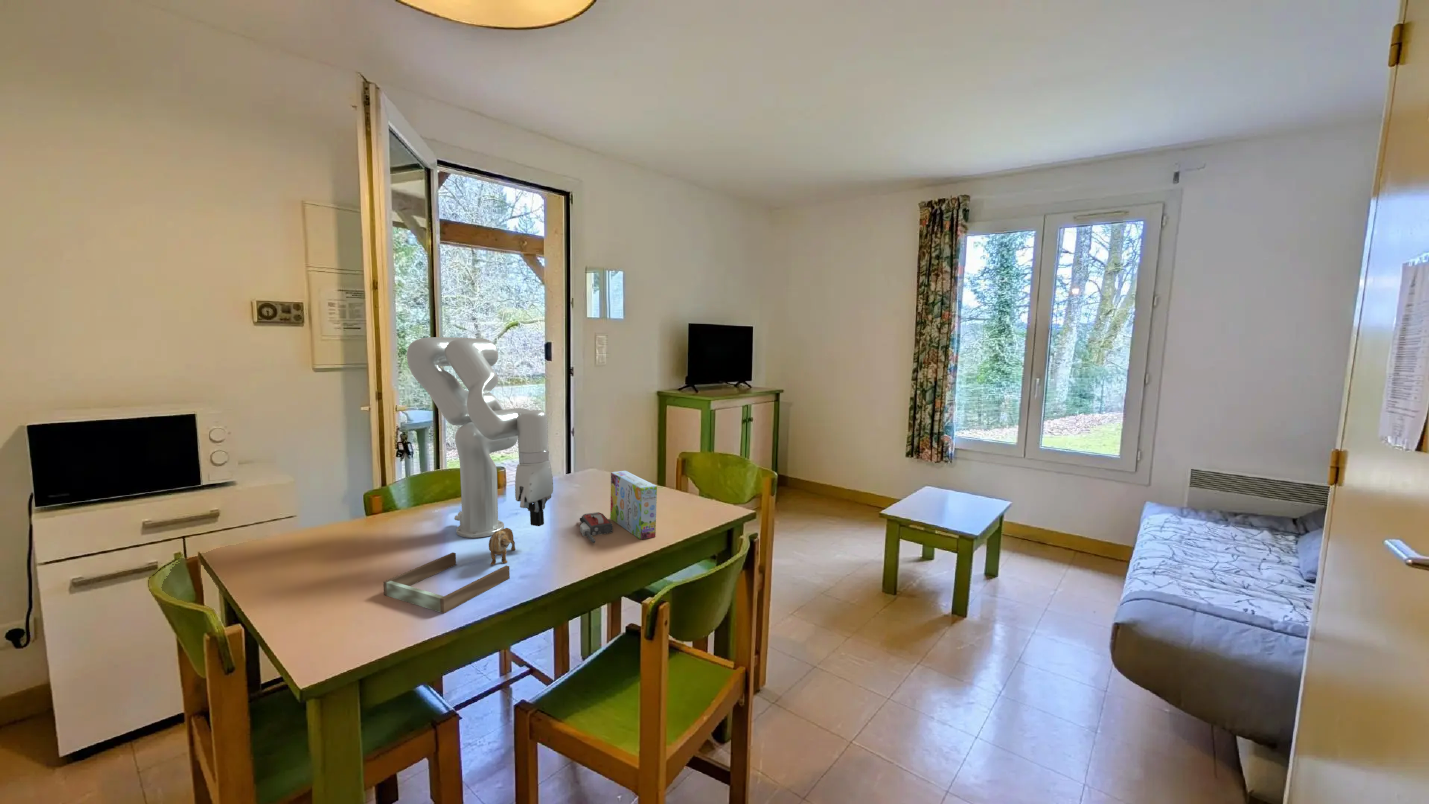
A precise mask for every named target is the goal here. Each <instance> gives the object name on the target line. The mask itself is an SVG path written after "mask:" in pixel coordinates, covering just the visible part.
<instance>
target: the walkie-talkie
mask: <svg viewBox="0 0 1429 804" xmlns="http://www.w3.org/2000/svg"><path fill="white" fill-rule="evenodd" d="M579 522H580V523H581V524H580V525H579V532H580V533H581V535H582V537H587V539H589V540H588V541H590V542H591V543H593V544H595V543H596V540H595V538H594V537H593V536H598V535H605V534H611V533H613V527H614V526H613V522H611V521H610V520H609V519H608V517H606V515H604V513H601V512H589V513H584V514H582V516H581V517H580V518H579Z"/></svg>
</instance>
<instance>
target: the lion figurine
mask: <svg viewBox="0 0 1429 804" xmlns="http://www.w3.org/2000/svg"><path fill="white" fill-rule="evenodd" d="M488 541H489V542H488V549H489V552H490V556H491V561H490V565H491V566H495V565H496V564H497V559H496V555H497V556H498V555H499V556H500V555H501V563H502V564H507V563H508V560H507V548H509V545H511V548H510V551H516V542H515V540H514V533H513V530H512V529H511V528H508V527H504V529H502V530H500V531H497V532H495V533H494V534H492V535H491V537H490V538H489V540H488Z"/></svg>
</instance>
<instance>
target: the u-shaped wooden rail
mask: <svg viewBox="0 0 1429 804" xmlns="http://www.w3.org/2000/svg"><path fill="white" fill-rule="evenodd" d="M455 566H457V553H456V552H451V553H448V554H446V555H443V556H441V557H438V558H436V559H433V560H431V561H430V562H427V563H424V564H422V565H419V566H417V567H415V568H413V569H410V570H408V571H406V572H402V573H400V574H399V575H396V576H393V577H392V578H389V579H386V580H384V581H383V596H386V597H390V598H393V599H395V600H400V601H402V602H404V603H410V604H413V605H416V606H419V607H422V608H424V609H425V608H426V609H429V610H432V611H435V612H437V613H442V614H446V613H448V612H450V611H451V610H453V609H455V608H457V607H459V606H460V605H463V604H464V603H466V602H468V601H470V600H472V599H474V598H476V597H477V596H480V595H481V594H483V593H485V592H488V591H489V590H491V589H493V588H494V587H496V586H498V585H501V583H505V582H506V581H508V580H510V572H511V571H510V565H504V566H502V567H500V568H497V569H496V570H493V571H491V572H490V573H488V574H486V575H484V576H482V577H480V578H478V579H476V580H474V581H472V582H469V583H468V584H466V585H464V586H462V587H460V588H458V589H456V590H454V591H452V592H450V593H448V594H446V595H442V594H437V593H434V592H431V591H428V590H424V589H421V588H417V587H413V586H412V585H415V584H417V583H419V582H421V581H423V580H426V579H428V578H430V577H433V576H434V575H437V574H439V573H441V572H444V571H446V570H448V569H450V568H453V567H455Z"/></svg>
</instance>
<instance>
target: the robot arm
mask: <svg viewBox="0 0 1429 804" xmlns="http://www.w3.org/2000/svg"><path fill="white" fill-rule="evenodd" d="M406 351H407V352H406V361H407V364H408V368H409V370H410V372H411V374H412V376H413V377H414V379H415V380H416V381H417V382H418V383H419V385H420V386H421V387H422V388H423V389H424V390H425V392H427V394H428V395H429V396H430V398H431V399H432V401H433V402H434V404H435V406H436V408H437V409H438V410H439V412H440V413H441V414H442V416H443V418H444V419H445V420H446V422H447V423H448V424H450V425H451V426H456V427H458V426H460V427H459V428H458V429H457V430H456V432H455V436H454V441H455V447H456V451H457V455H458V460H459V472H460V495H461V497H460V498H461V511H459V512H458V513H457V515H454V518H453V519H454V520H455V521H459V525H458V526H457V527H456V535H458V536H460V537H463V538H468V539H469V538H470V539H472V538H474V539H475V538H477V539H478V538H484V537H485V538H486V537H490V536H492V534H494V533H495V532H497V531H500V530H502V529H505V523H504V522H503V521H501V520H499V505H498V504H499V503H498V502H499V498H498V497H499V496H498V468H497V466H496V464H495V462H494V460H493V458H492V457H491V455H490V454H492V453H495V452H500V451H506V450H508V449H511V448H513V447H514V446H516V443H517V447H518V464H517V466H516V470H515V471H516V472H515V480H514V481H515V482H514V498H515V501H516V502H520V504H519V508H521V509H527V511H528V512H529V516H530V518H529V519H530V521H529V523H530V525H531V526H535V527H541V526H543V525H544V524H545V518H544V517H545V516H544V510H545V509H546V504H547V501H549V500H550V499H551V498H552V494H554V477H553V476H554V475H553V470H552V469H553V468H552V465H551V461H550V459H549V458H550V450H549V435H548V433H549V431H548V430H549V429H548V416H547V413H546V412H545V411H543V410H536V409H532V410H531V409H527V408H523V407H514V408H508V409H507V408H506V409H505V407H504V406H503V405H502V403H501V402H500V401H499V399H498V397H497V396H496V395H494V394H493V393H491V391H492V390H494V389H495V388H496V386H497V384H498V382H499V377H498V376H499V375H498V374H497V373H496V371H495V370H494V369H493V366H494V365H496V363H498V359H499V352H498V348H497V346H496V344H494V342H492V341H491V340H489V339H487V338H482V337H481V338H475V337H474V338H472V337H461V336H460V337H451V336H450V337H449V336H448V337H447V336H445V337H441V336H439V337H436V336H435V337H434V336H433V337H421V338H418V339H415V340H413V341H412V342H411V343H410V344H409V345H408V347H407V350H406ZM442 367H451V368H452V369H453V371H454V372H455V374H456V375H457V376H458V377H459V378H460V379H459V380H460V381H462V383H463V385H464V386H465V388H466V389H467V390H466V389H465V388H464V387H463V386H462V385H461V384H460V382H459V380H458V379H457V378H456V377H455V375H452V373H450V372H449V371H447V370H445V369H443V368H442Z"/></svg>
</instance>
